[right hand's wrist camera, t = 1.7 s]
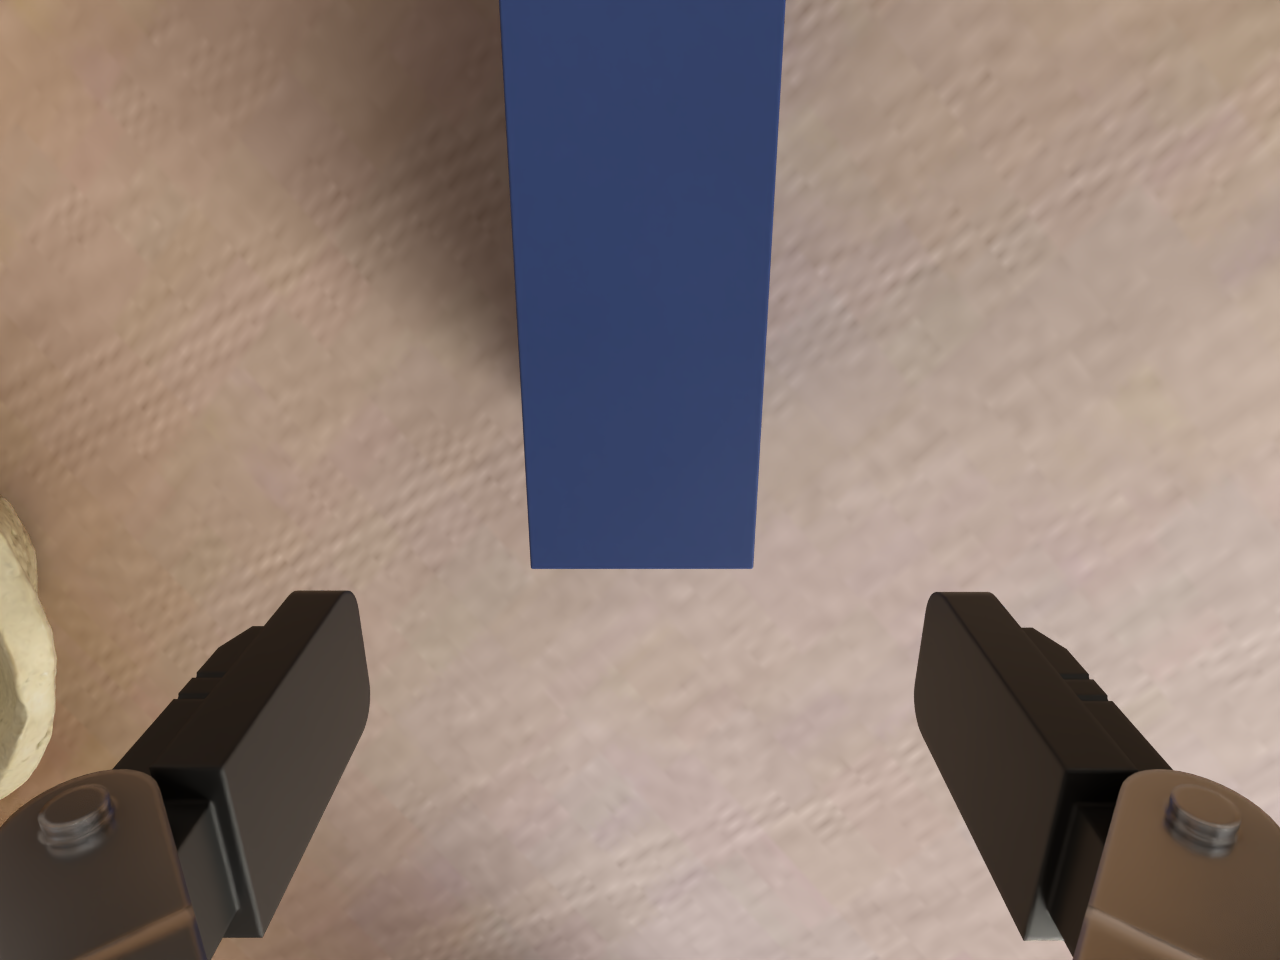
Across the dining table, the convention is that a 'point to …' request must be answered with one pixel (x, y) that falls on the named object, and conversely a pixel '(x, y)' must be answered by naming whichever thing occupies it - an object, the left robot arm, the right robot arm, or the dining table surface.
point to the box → (642, 272)
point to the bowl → (22, 657)
